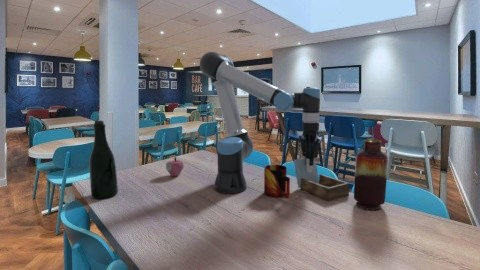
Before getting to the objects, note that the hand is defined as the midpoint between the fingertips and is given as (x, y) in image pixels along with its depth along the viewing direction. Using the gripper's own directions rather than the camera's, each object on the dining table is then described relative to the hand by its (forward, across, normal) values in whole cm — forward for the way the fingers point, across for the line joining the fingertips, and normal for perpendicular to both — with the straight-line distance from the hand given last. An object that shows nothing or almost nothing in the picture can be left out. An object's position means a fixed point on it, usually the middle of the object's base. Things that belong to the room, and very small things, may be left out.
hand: (309, 171), depth 126 cm
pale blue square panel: (+1, +2, 0) cm, 2 cm away
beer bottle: (+8, +39, +84) cm, 93 cm away
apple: (+7, +51, +49) cm, 71 cm away
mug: (+8, -1, +18) cm, 20 cm away
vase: (+8, -28, -4) cm, 30 cm away
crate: (+8, -9, 0) cm, 12 cm away
